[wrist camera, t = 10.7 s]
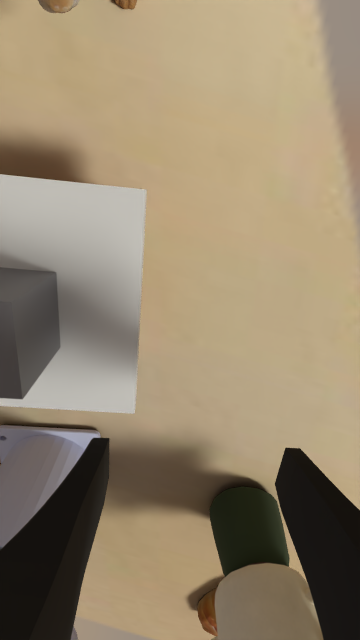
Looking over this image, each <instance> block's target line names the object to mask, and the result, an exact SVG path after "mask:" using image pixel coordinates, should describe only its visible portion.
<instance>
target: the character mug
mask: <svg viewBox="0 0 360 640" xmlns="http://www.w3.org/2000/svg"><path fill="white" fill-rule="evenodd" d="M209 510H210V521H211V526H212V530H213V535H214V539H215V543H216V547H217V551H218V554H219V558H220V562H221V566H222V570H223V574H224V575H225V578H224V579H223V580H222V581H221V582H219V585H218V588H217V590H216V593H215V613H216V622H217V632H218V636H216V637H214V638H213V639H211V640H323V636H322V632H321V628H320V624H319V620H318V617H317V613H316V610H315V606H314V603H313V599H312V595H311V592H310V588H309V585H308V583H307V582H306V581H305V579H304V578H303V577H302V576H301V574H300V573H299V572H297V571H296V570H294V569H292V568H290V567H289V554H288V549H287V544H286V539H285V534H284V529H283V523H282V520H281V516H280V512H279V508H278V504H277V501H276V500H275V499H274V497H273V496H272V495H271V494H269V493H267V492H265V491H262V490H260V489H257V488H250V487H237V488H231V489H227V490H225V491H224V492H222V493H221V494H219V495H218V496H216V497H215V499H214V501H213V503H212V505H211V507H210V509H209Z"/></svg>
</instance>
